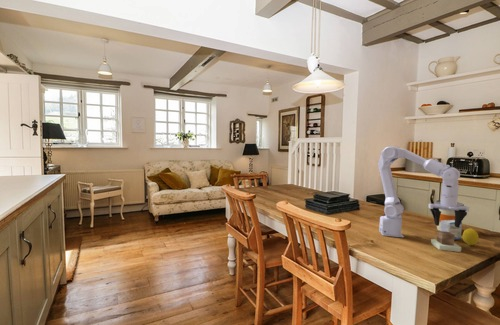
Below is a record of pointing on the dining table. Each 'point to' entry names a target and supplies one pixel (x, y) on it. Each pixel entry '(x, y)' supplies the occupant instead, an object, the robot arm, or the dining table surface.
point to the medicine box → (451, 228)
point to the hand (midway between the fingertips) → (446, 225)
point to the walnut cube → (445, 238)
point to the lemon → (470, 236)
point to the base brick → (446, 246)
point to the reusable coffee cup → (446, 213)
